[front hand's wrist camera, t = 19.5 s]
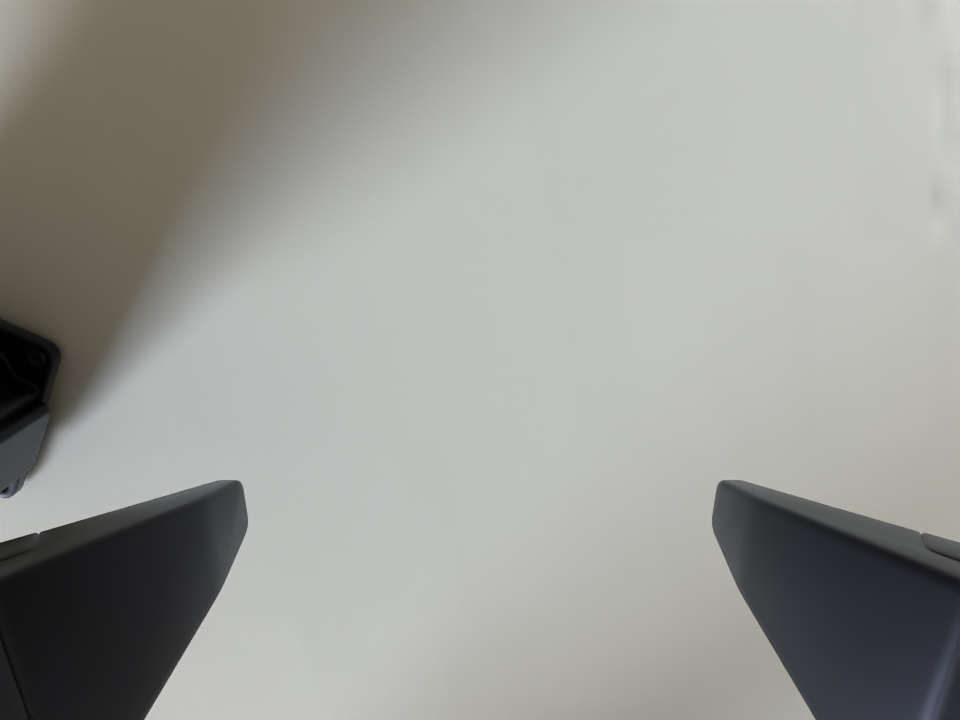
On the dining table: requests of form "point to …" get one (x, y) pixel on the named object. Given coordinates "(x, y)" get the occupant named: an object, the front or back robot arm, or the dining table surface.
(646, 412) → the dining table surface
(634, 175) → the dining table surface
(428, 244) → the dining table surface
